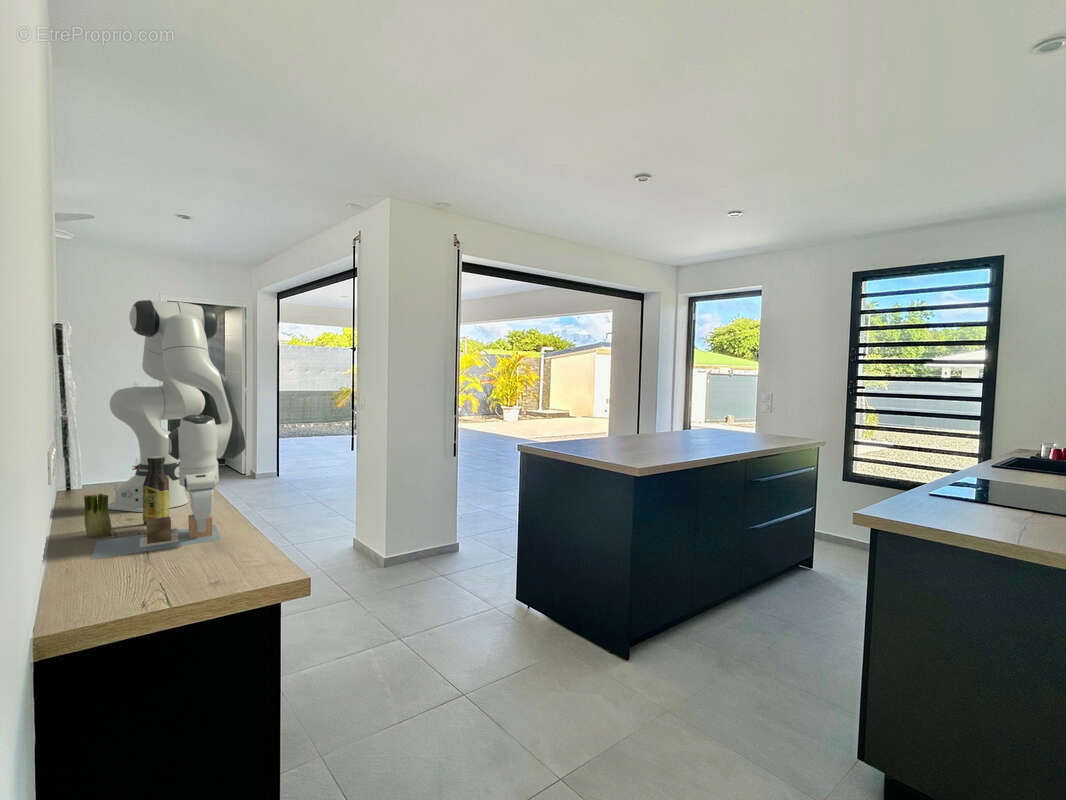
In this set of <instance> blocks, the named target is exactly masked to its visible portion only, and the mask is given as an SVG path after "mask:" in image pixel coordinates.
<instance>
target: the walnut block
mask: <svg viewBox="0 0 1066 800" xmlns="http://www.w3.org/2000/svg"><path fill="white" fill-rule="evenodd" d="M171 531H172V520H171V516H169V517H164V518H155V519H147V525H146V534H147V544H150V543H157V542H164V541H171Z"/></svg>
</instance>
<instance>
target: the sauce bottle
mask: <svg viewBox="0 0 1066 800" xmlns="http://www.w3.org/2000/svg"><path fill="white" fill-rule="evenodd" d="M164 461H165V457H164V456H150V457H148V459H147V462H148V473H147V476H146V479H145V481H144V484H143V512H142V521H143V523H142V524H143V525H146V526H147V519H155V518H164V517H170V508H169V479H168V477H167V476H166V475H165V473H164Z"/></svg>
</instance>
